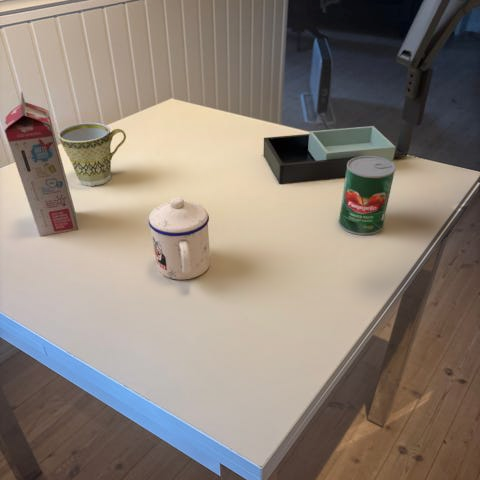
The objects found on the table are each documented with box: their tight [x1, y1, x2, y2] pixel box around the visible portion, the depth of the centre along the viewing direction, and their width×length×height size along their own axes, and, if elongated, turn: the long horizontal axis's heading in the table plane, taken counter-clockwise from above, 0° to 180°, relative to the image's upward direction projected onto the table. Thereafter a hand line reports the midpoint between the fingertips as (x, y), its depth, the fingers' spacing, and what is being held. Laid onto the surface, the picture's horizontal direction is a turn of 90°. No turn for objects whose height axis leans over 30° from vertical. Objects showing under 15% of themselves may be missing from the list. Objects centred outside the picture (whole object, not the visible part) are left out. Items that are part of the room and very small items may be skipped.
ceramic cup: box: [57, 122, 127, 187], centre depth 100 cm, size 13×10×10 cm
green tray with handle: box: [308, 119, 415, 164], centre depth 103 cm, size 21×12×15 cm, turn 101°
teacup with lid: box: [148, 196, 211, 281], centre depth 74 cm, size 12×9×12 cm
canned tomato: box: [338, 156, 396, 236], centre depth 84 cm, size 8×8×11 cm
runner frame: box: [263, 133, 356, 185], centre depth 105 cm, size 18×15×4 cm
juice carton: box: [4, 91, 79, 237], centre depth 82 cm, size 7×7×22 cm
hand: (449, 109), depth 64 cm, fingers open, 13 cm apart
